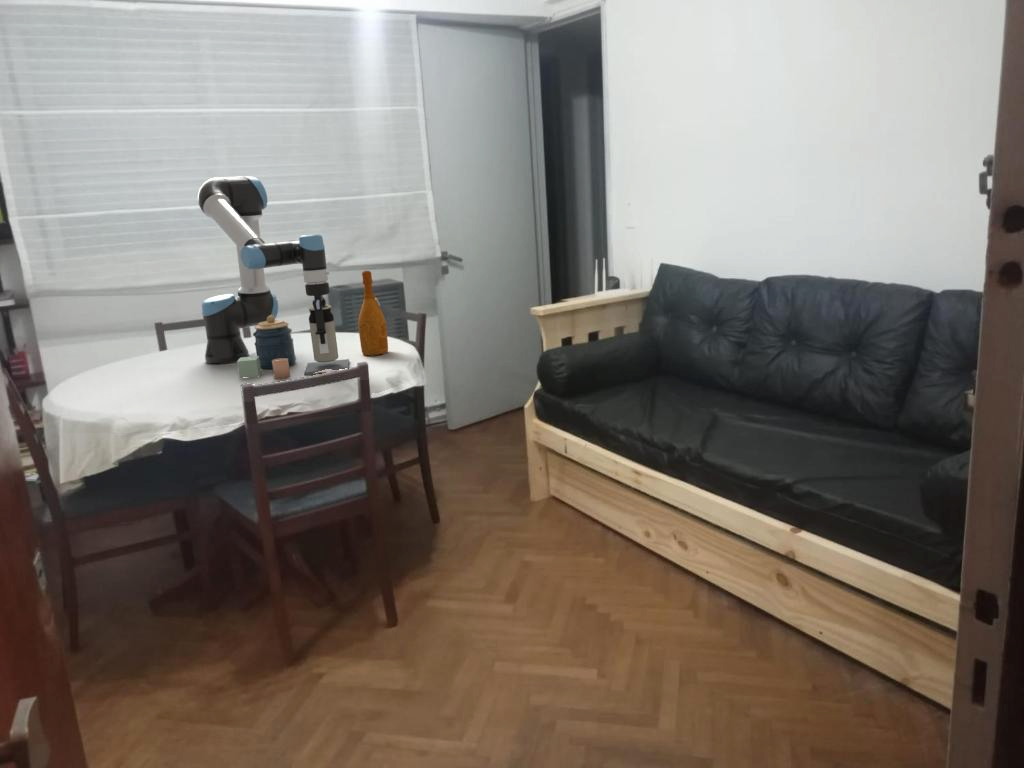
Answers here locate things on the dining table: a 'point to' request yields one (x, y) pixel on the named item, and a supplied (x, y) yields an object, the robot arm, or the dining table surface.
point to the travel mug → (330, 335)
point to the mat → (326, 366)
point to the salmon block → (281, 368)
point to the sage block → (249, 366)
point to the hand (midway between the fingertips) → (325, 350)
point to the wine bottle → (371, 322)
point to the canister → (273, 342)
